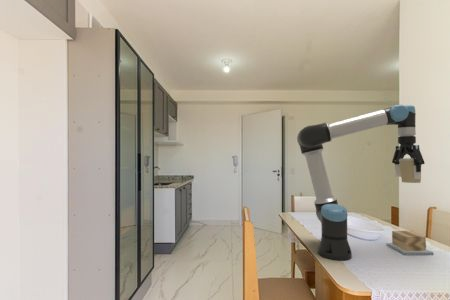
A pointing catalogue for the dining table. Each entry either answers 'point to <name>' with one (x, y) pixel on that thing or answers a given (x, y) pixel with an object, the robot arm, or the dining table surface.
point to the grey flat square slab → (409, 251)
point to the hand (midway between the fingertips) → (407, 177)
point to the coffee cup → (408, 170)
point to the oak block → (409, 240)
